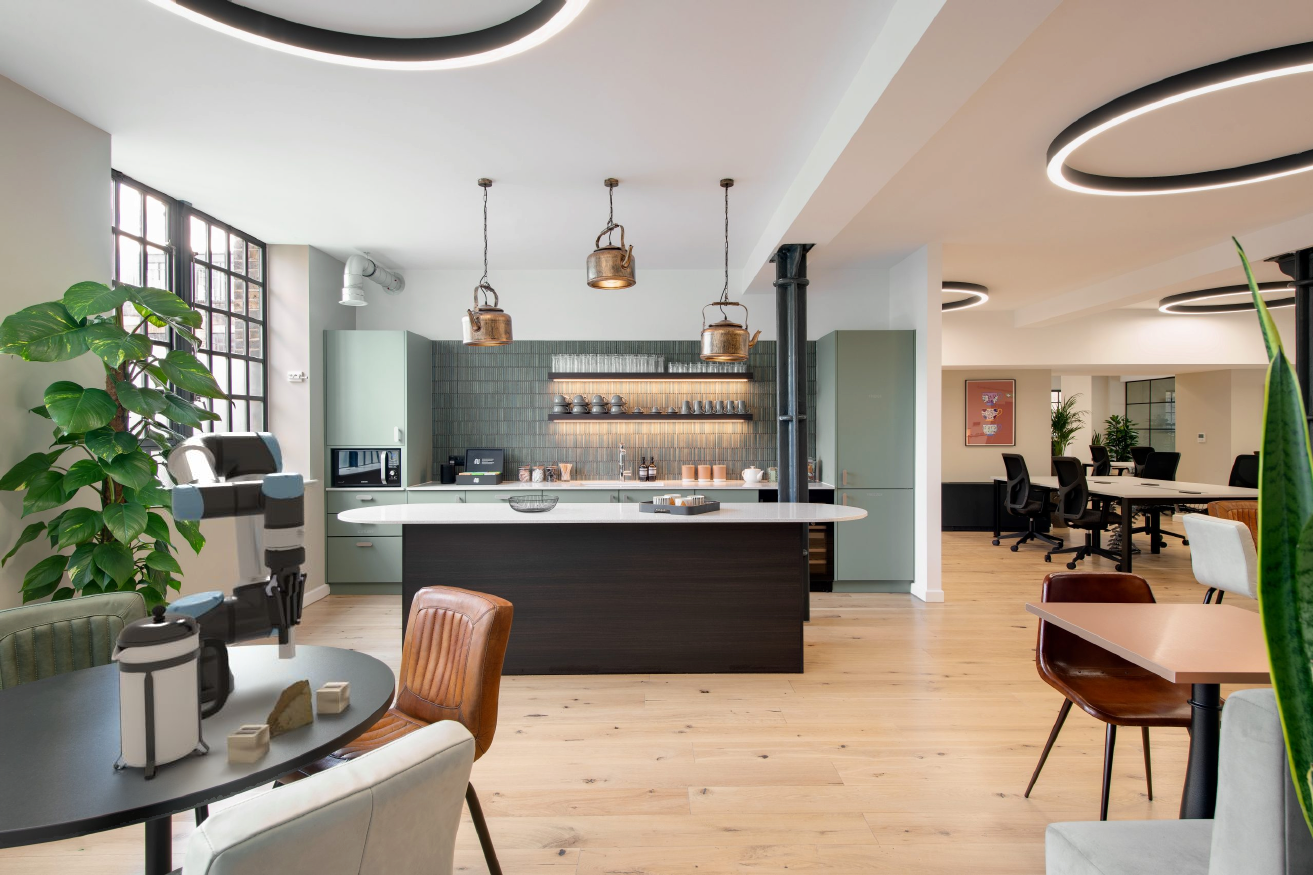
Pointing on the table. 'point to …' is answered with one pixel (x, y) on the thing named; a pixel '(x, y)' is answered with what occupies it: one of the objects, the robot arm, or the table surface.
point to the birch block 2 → (333, 697)
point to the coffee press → (164, 689)
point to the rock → (291, 709)
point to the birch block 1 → (248, 743)
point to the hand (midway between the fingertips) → (287, 657)
